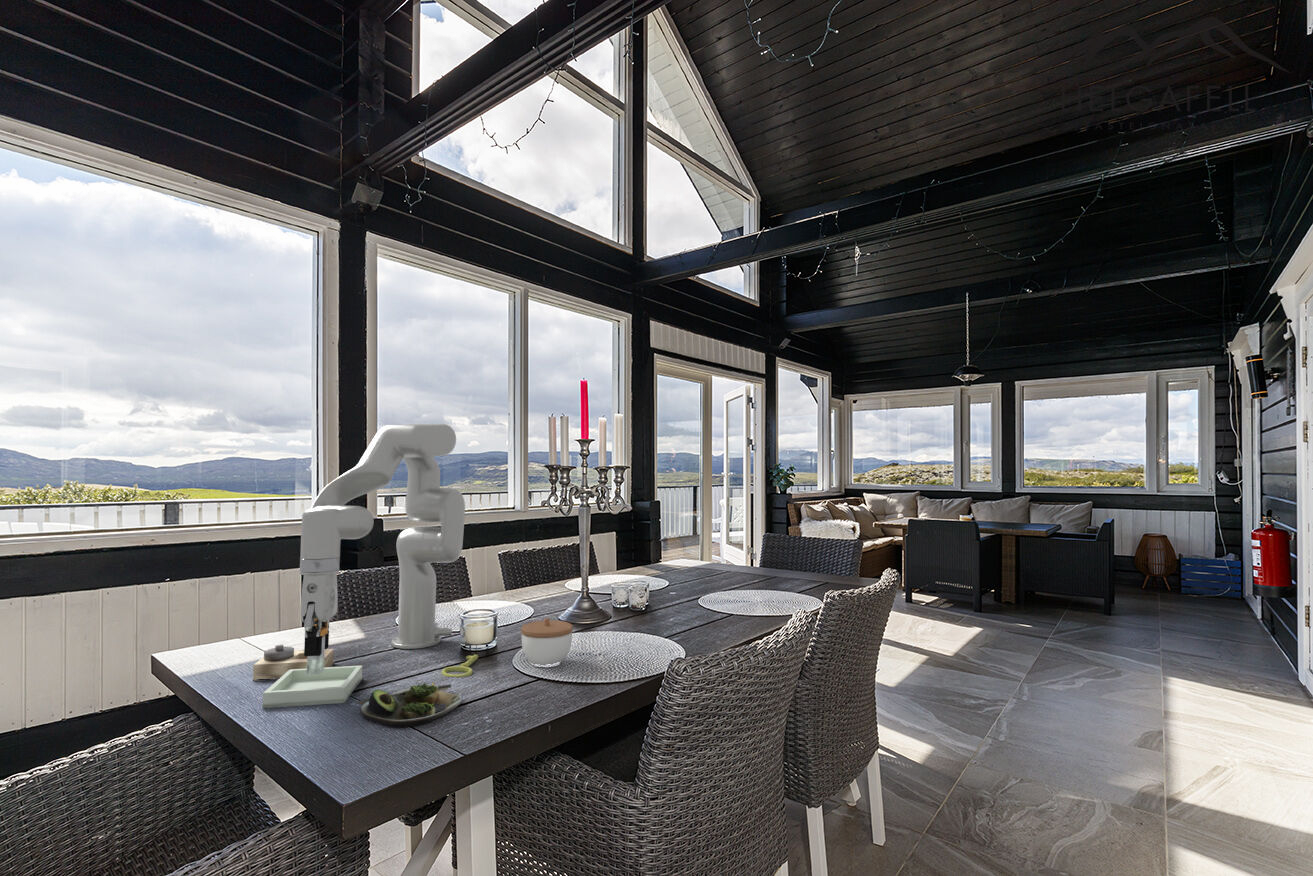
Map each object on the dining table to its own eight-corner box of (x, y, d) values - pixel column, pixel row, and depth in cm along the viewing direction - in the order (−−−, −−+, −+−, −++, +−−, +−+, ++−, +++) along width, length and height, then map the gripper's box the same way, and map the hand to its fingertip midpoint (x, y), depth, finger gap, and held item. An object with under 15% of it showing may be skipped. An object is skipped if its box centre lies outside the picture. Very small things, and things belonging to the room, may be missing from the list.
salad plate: (424, 686, 139) (424, 665, 139) (483, 701, 131) (484, 678, 131) (343, 715, 122) (344, 691, 123) (406, 735, 114) (407, 709, 114)
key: (478, 662, 157) (478, 653, 157) (470, 678, 145) (471, 669, 145) (448, 663, 156) (448, 654, 156) (438, 680, 144) (438, 670, 144)
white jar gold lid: (328, 668, 136) (330, 626, 137) (323, 674, 132) (324, 631, 133) (307, 669, 135) (309, 627, 136) (301, 675, 131) (303, 632, 132)
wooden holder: (333, 663, 154) (334, 637, 154) (321, 676, 144) (321, 649, 144) (269, 666, 151) (270, 640, 151) (252, 680, 141) (254, 652, 141)
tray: (361, 678, 143) (362, 665, 143) (344, 702, 128) (344, 687, 128) (289, 683, 139) (289, 669, 140) (262, 708, 125) (263, 693, 125)
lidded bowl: (537, 675, 146) (538, 627, 147) (510, 662, 156) (511, 617, 156) (582, 664, 155) (582, 619, 155) (554, 653, 164) (555, 610, 165)
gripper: (327, 571, 128) (323, 663, 127) (348, 560, 144) (345, 641, 143) (286, 572, 126) (282, 665, 125) (313, 560, 142) (309, 643, 141)
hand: (316, 651), depth 134 cm, fingers closed on white jar gold lid, 4 cm apart
